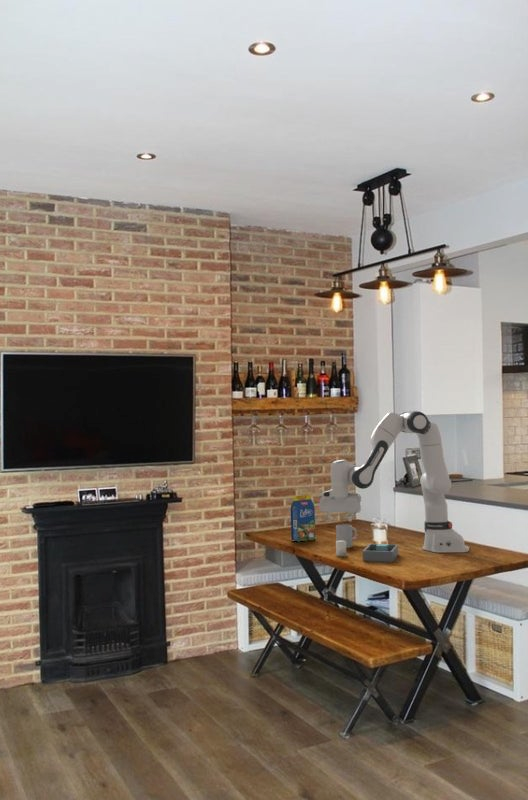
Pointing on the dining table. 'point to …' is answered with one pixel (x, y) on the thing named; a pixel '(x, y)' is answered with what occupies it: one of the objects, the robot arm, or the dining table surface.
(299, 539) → the blue food package
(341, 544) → the canister
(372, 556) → the tote
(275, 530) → the dining table surface
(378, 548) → the block
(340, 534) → the mug
